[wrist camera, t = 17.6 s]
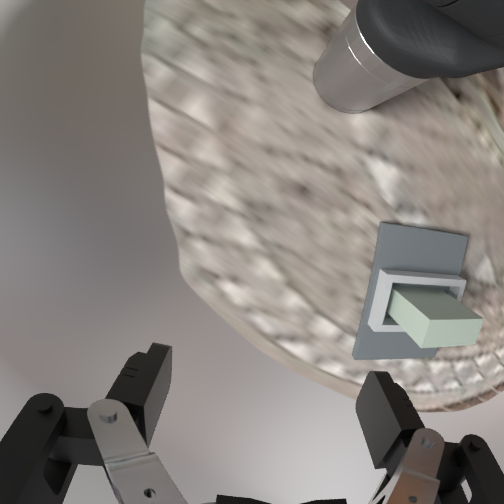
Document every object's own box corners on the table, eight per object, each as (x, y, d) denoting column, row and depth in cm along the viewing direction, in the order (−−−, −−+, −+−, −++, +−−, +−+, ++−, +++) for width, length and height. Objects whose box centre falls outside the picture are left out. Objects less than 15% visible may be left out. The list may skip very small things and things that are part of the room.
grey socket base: (380, 221, 40) (392, 226, 36) (462, 234, 40) (477, 240, 36) (351, 354, 44) (359, 369, 40) (430, 352, 45) (442, 364, 41)
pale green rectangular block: (390, 286, 40) (430, 319, 29) (440, 289, 40) (483, 318, 30) (383, 316, 41) (418, 355, 30) (432, 317, 41) (472, 351, 31)
